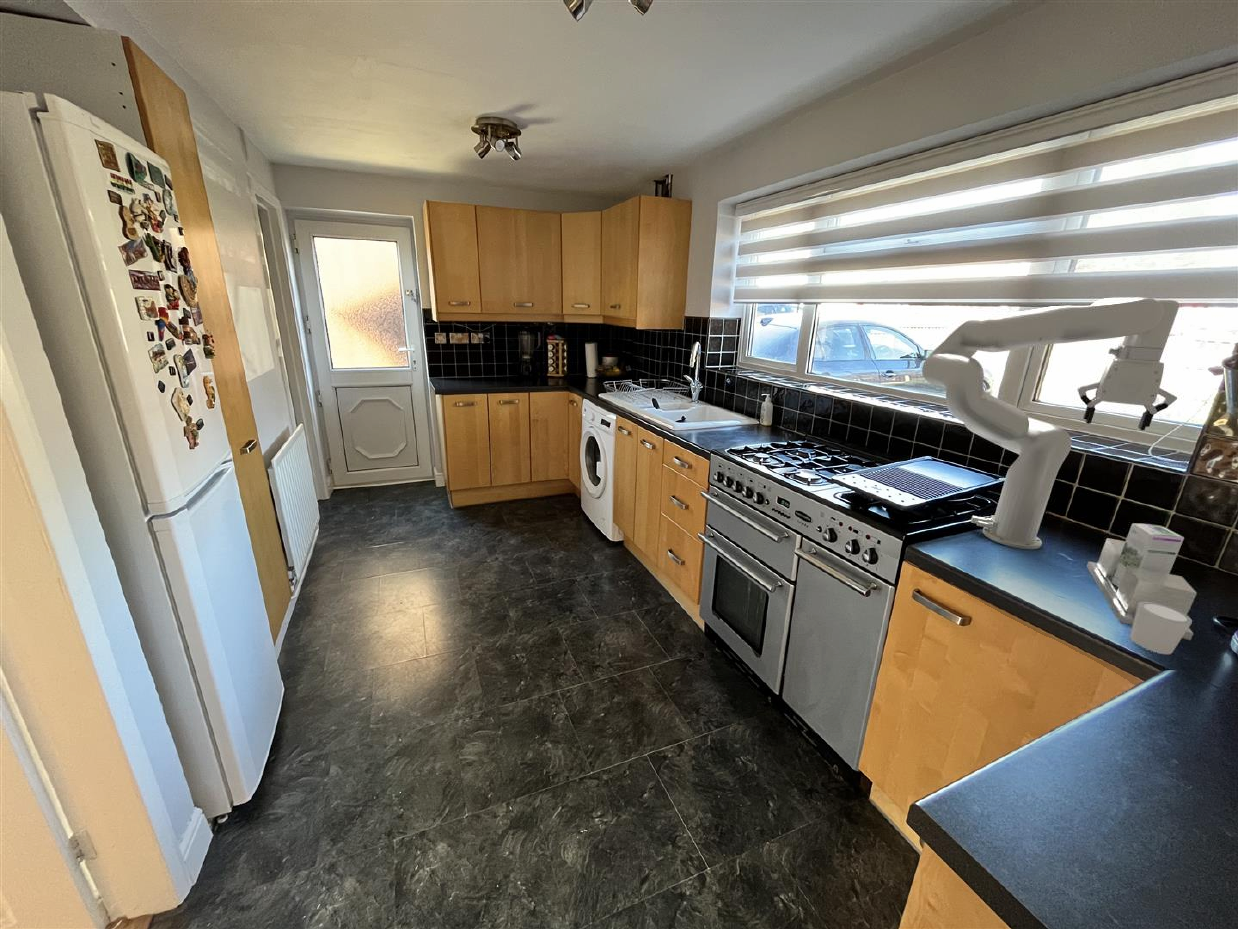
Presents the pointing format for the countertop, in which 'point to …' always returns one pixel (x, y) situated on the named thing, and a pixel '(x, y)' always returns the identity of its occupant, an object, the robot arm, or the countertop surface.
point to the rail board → (1138, 586)
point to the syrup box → (1148, 550)
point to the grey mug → (1158, 627)
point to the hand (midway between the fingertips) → (1113, 425)
